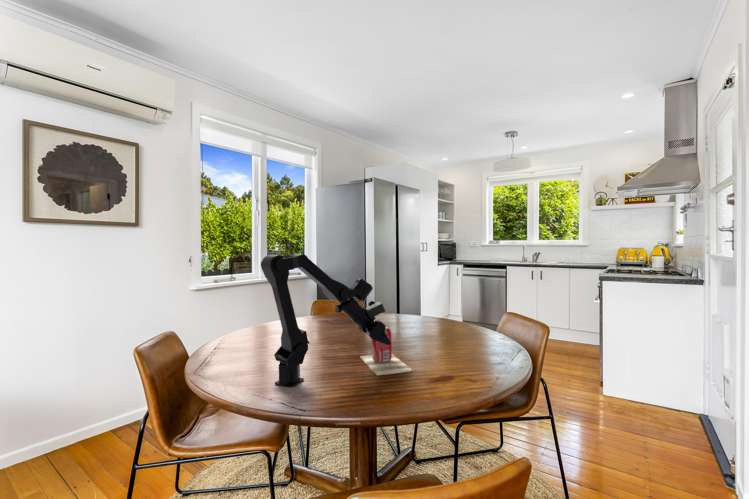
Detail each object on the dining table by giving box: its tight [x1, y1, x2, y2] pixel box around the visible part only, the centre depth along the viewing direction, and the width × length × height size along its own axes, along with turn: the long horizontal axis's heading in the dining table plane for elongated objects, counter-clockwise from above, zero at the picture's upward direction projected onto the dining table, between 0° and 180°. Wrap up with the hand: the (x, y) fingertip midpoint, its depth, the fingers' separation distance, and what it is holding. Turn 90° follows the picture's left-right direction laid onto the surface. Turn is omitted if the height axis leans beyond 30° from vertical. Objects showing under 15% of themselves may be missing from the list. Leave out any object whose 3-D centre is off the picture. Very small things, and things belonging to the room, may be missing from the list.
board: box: [359, 353, 413, 376], centre depth 131 cm, size 20×12×1 cm, turn 18°
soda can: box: [371, 324, 393, 363], centre depth 133 cm, size 7×7×12 cm
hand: (385, 340), depth 133 cm, fingers open, 9 cm apart
